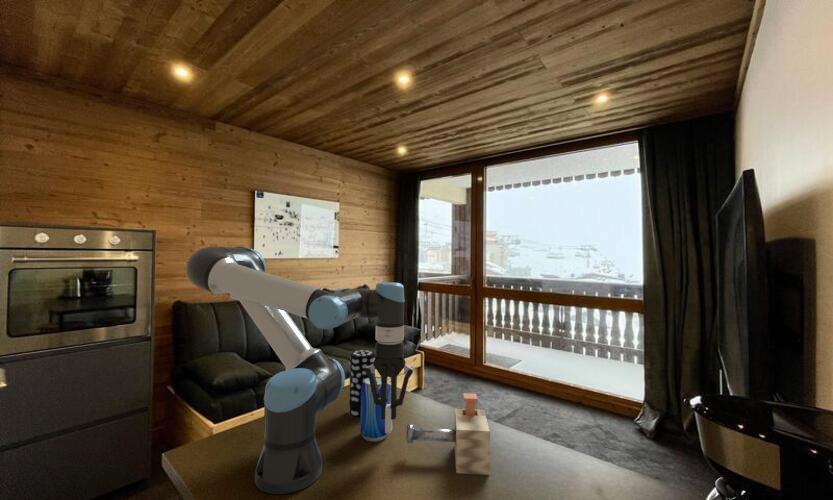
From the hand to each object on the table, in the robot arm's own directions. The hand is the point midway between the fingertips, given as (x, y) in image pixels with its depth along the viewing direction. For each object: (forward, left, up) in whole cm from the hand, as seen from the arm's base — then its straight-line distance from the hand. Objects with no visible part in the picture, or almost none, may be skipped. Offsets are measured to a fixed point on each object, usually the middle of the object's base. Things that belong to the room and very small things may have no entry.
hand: (388, 430), depth 94 cm
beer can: (-5, +10, -7) cm, 13 cm away
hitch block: (+22, 0, -7) cm, 22 cm away
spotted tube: (-12, +24, -7) cm, 28 cm away
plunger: (+22, +4, +1) cm, 22 cm away
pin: (+13, 0, -3) cm, 13 cm away
